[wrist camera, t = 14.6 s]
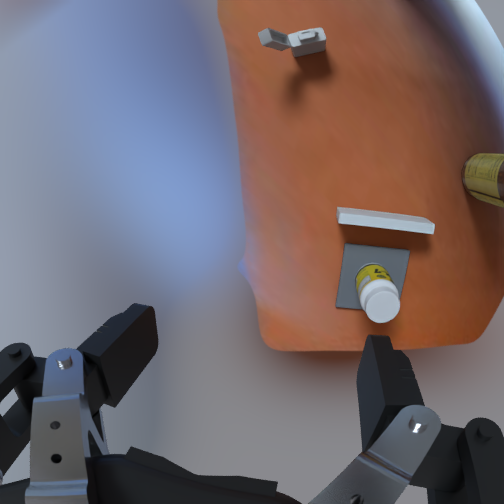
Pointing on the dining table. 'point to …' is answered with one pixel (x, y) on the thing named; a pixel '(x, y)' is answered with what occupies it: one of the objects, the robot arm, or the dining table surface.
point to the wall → (384, 220)
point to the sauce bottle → (485, 177)
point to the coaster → (361, 256)
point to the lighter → (295, 41)
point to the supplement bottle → (377, 293)
